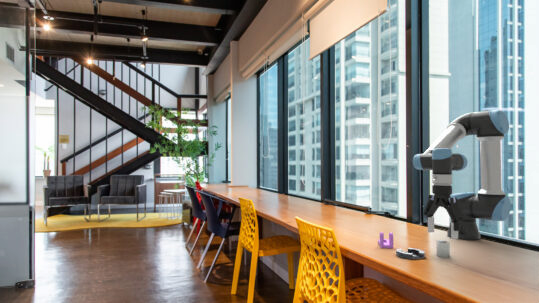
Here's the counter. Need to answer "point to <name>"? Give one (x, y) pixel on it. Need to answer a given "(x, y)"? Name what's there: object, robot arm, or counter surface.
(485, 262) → the counter surface
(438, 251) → the grey cylinder
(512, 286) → the counter surface
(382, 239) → the bracket
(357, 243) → the counter surface
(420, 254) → the barrel ring
